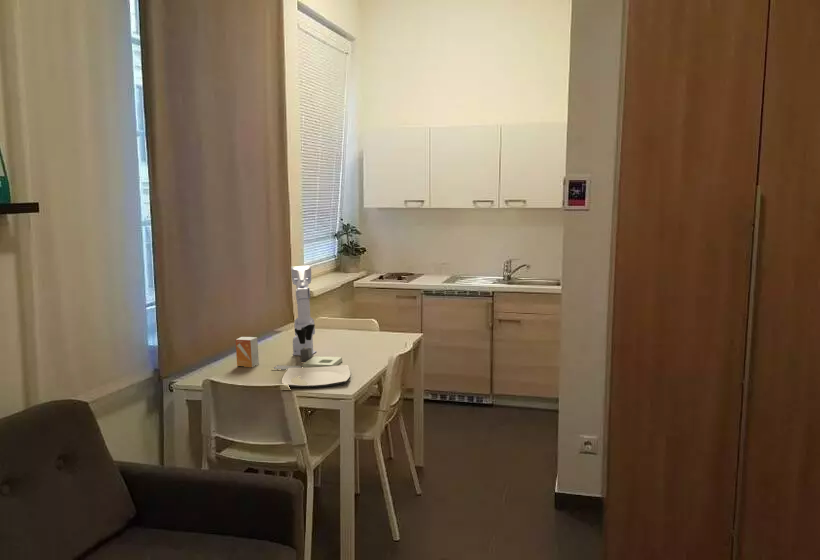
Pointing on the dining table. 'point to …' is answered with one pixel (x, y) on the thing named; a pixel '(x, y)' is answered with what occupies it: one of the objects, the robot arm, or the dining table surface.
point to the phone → (286, 367)
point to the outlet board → (322, 362)
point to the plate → (318, 376)
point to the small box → (247, 351)
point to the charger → (306, 354)
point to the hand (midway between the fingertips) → (305, 341)
